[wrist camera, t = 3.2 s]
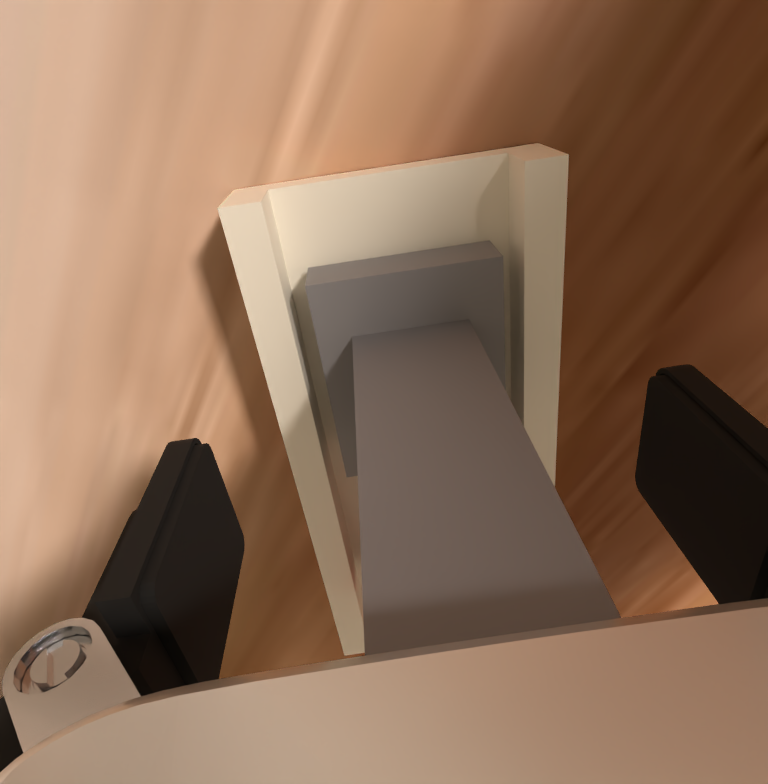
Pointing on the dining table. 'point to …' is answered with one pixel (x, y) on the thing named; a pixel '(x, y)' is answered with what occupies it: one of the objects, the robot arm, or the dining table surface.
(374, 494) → the block
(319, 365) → the track
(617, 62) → the dining table surface
